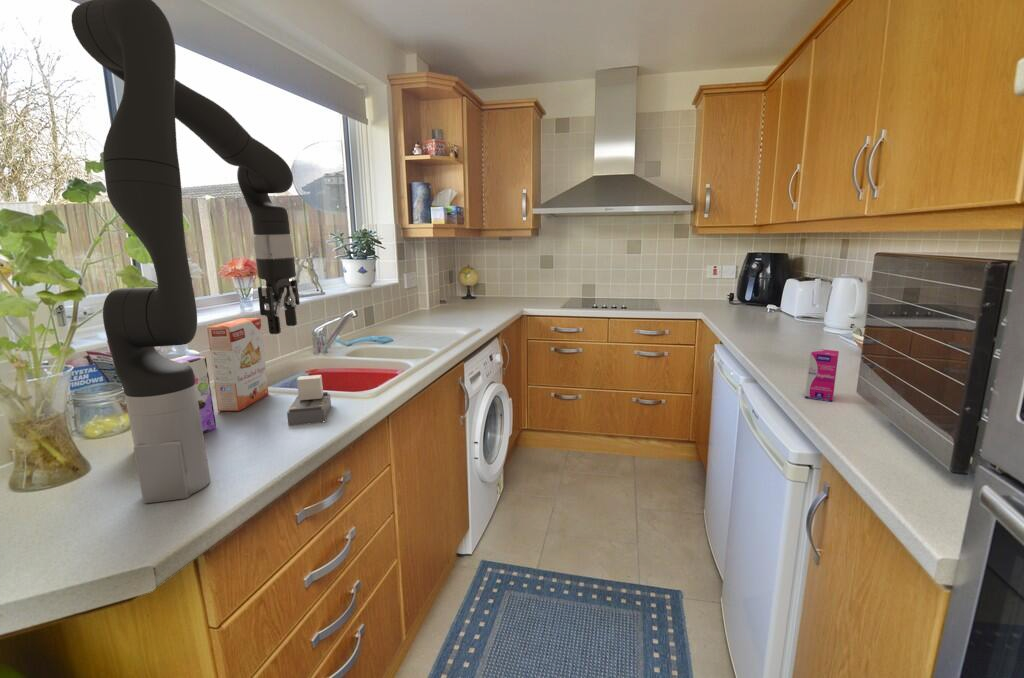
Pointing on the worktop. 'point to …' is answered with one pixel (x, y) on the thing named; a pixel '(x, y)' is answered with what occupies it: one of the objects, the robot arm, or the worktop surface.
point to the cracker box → (238, 363)
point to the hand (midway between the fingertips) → (283, 329)
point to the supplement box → (821, 374)
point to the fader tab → (310, 387)
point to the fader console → (309, 410)
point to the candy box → (201, 389)
